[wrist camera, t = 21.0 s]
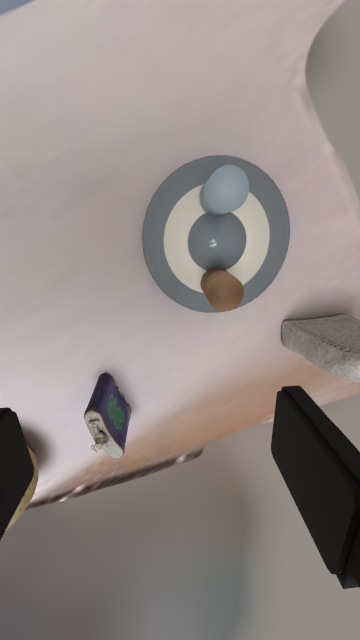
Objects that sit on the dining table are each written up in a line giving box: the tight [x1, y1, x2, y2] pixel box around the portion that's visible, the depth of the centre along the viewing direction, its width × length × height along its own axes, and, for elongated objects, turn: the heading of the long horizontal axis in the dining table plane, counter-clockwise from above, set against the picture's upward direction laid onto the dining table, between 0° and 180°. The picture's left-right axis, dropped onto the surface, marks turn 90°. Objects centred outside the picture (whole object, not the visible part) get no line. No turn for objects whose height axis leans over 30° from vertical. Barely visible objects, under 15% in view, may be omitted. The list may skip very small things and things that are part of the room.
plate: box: [142, 155, 290, 312], centre depth 34 cm, size 20×20×1 cm
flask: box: [84, 373, 131, 458], centre depth 37 cm, size 9×3×11 cm, turn 21°
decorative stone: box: [281, 314, 360, 382], centre depth 33 cm, size 11×6×15 cm, turn 98°
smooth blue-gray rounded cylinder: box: [199, 165, 249, 216], centre depth 28 cm, size 4×4×6 cm
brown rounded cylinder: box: [200, 268, 244, 311], centre depth 32 cm, size 4×4×6 cm
